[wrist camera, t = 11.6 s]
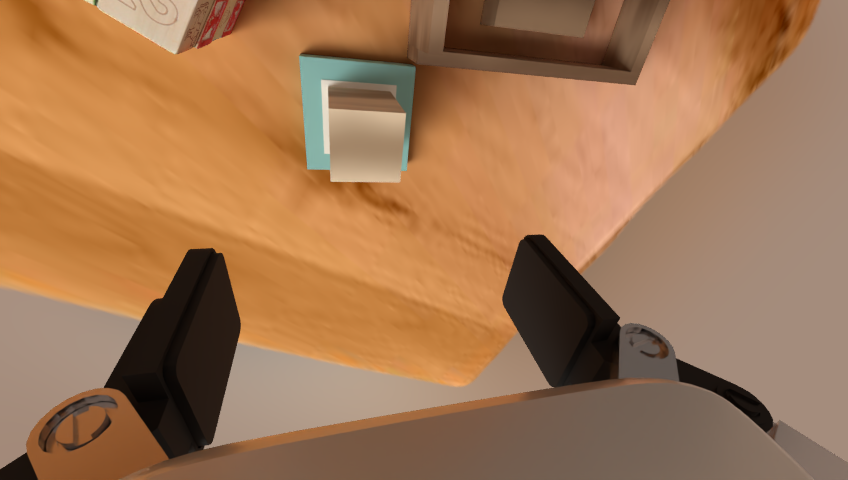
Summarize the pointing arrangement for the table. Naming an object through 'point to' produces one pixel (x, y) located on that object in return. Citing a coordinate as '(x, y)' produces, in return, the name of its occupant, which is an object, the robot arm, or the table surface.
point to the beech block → (365, 135)
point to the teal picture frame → (348, 75)
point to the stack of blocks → (175, 20)
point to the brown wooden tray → (547, 13)
